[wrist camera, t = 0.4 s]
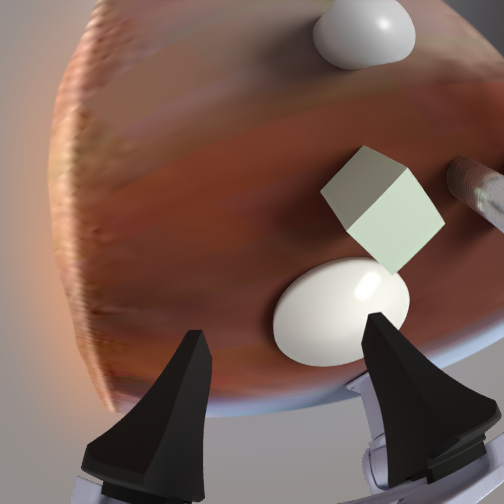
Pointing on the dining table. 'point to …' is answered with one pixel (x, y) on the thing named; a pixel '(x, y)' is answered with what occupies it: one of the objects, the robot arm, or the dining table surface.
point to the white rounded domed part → (364, 33)
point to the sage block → (382, 207)
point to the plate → (336, 310)
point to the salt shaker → (478, 188)
